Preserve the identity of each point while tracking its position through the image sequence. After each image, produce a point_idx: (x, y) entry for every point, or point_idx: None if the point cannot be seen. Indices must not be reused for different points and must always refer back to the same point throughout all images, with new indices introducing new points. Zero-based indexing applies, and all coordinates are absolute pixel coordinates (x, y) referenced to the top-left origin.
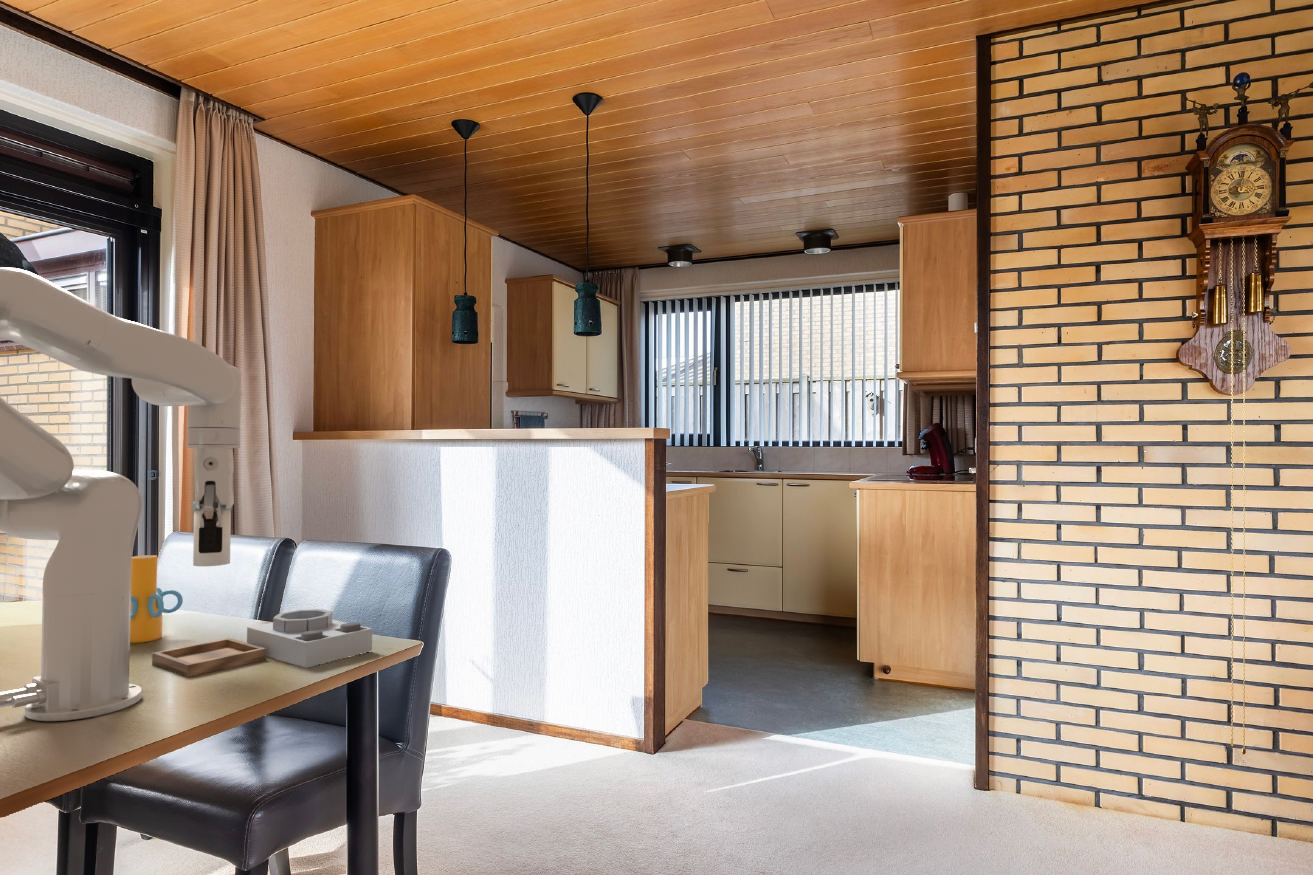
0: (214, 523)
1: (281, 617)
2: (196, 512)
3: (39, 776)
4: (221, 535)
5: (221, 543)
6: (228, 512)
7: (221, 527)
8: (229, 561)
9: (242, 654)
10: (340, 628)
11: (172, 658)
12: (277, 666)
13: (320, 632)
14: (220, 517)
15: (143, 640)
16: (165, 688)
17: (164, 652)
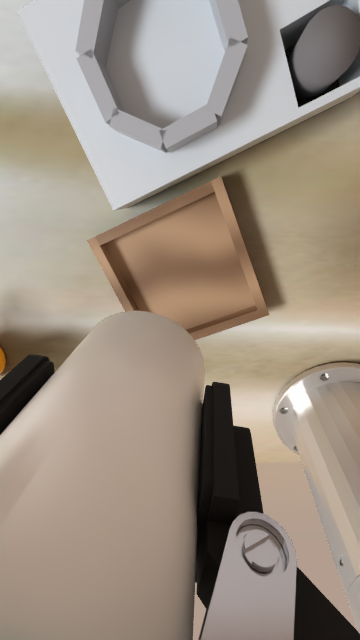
0: (315, 590)
1: (148, 123)
2: None
3: None
4: (233, 448)
5: (230, 410)
6: (88, 611)
7: (238, 502)
8: (157, 317)
9: (237, 225)
10: None
11: (206, 332)
12: (292, 158)
13: (343, 14)
14: (250, 617)
15: (3, 355)
16: (312, 335)
17: None
